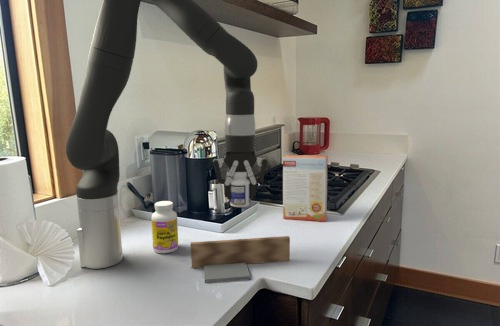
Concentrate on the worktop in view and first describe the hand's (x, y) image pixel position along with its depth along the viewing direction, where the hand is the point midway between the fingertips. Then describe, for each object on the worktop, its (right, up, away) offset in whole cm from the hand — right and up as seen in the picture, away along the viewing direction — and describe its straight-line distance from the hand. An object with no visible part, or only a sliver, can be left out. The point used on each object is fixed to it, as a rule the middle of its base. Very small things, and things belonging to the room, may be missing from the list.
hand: (240, 198), depth 97 cm
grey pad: (-3, -16, -10) cm, 20 cm away
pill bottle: (0, -2, 0) cm, 2 cm away
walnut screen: (0, -15, -5) cm, 16 cm away
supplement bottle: (-20, -14, +5) cm, 25 cm away
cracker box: (+21, -9, +29) cm, 37 cm away
